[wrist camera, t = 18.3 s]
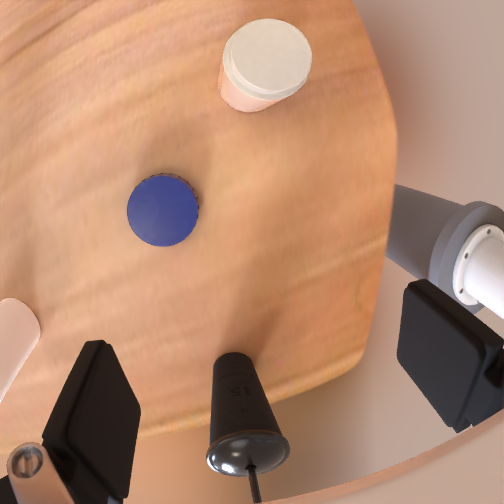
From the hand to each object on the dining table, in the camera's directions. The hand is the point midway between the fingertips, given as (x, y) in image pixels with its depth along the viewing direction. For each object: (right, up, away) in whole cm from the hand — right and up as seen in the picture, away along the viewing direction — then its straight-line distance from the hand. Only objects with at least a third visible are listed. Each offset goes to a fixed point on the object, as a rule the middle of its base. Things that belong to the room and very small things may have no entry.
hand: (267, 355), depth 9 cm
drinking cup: (-3, -11, +28) cm, 30 cm away
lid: (-9, +7, +19) cm, 22 cm away
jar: (-1, +19, +18) cm, 26 cm away
